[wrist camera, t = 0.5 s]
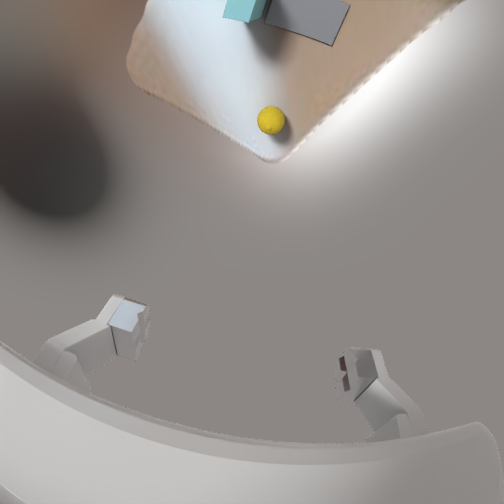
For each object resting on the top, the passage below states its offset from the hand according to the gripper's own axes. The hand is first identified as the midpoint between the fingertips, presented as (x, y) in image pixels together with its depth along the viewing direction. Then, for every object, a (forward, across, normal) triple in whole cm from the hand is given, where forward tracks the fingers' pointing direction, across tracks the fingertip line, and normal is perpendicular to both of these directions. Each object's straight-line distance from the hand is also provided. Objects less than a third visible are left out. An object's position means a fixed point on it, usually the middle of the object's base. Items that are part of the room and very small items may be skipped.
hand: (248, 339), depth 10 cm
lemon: (+54, +1, -8) cm, 54 cm away
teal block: (+43, +9, -30) cm, 53 cm away
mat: (+43, 0, -30) cm, 52 cm away
